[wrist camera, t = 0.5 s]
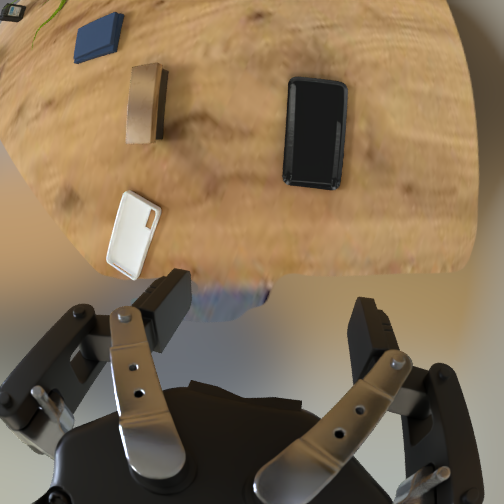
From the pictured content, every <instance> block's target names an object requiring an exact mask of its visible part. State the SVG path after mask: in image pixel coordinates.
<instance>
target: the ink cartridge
mask: <svg viewBox="0 0 504 504" xmlns="http://www.w3.org/2000/svg"><path fill="white" fill-rule="evenodd" d="M8 5H9V6H8ZM6 6H7V7H6ZM4 7H5V8H3V9H2V12H1V15H0V20H1V21H11V22H19V21H20V20H21V19H22V18H23V15H24V12H25V9H26V6H22V5H16V4H9V3H7V4H6V5H5V6H4Z"/></svg>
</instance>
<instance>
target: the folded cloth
mask: <svg viewBox="0 0 504 504" xmlns="http://www.w3.org/2000/svg"><path fill="white" fill-rule="evenodd" d="M123 19H124V15H123V14H121V13H120V14H119V13H117V12H113V13H111V14H109V15H106V16H104V17H102V18H100V19H97V20H95V21H93V22H91V23H89V24H87V25H85V26H83V27H81V28H79V29H78V33H77V39H76V45H75V51H74V59H75V60H74V63H76V64H79V63H82V62H85V61H88V60H91V59H94V58H97V57H100V56H104V55H107V54H111V53H114V52H117V47H118V42H119V37H120V32H121V27H122V23H123Z"/></svg>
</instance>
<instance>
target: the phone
mask: <svg viewBox="0 0 504 504" xmlns="http://www.w3.org/2000/svg"><path fill="white" fill-rule="evenodd" d="M347 99H348V88H347V86H346V85H345V84H344V83H342V82H339V81H332V80H325V79H317V78H307V77H293V78H291V79H290V81H289V83H288V100H287V117H286V132H285V147H284V161H283V175H282V177H283V181H284V182H285V183H286V184H287V185H291V186H301V187H309V188H317V189H325V190H336V189H337V188H338V187H339V186H340V182H341V175H342V167H343V158H344V143H345V131H346V117H347Z"/></svg>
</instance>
